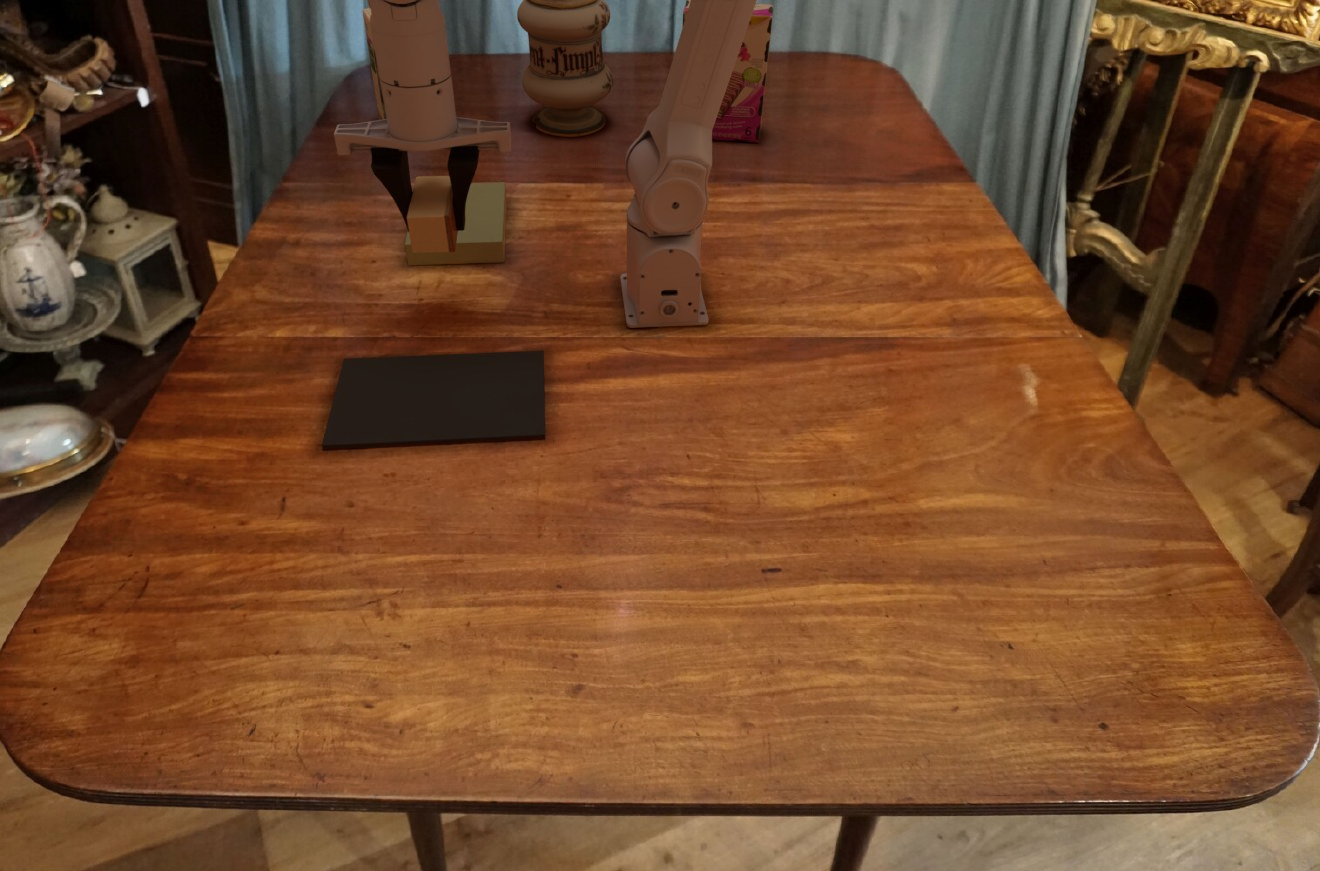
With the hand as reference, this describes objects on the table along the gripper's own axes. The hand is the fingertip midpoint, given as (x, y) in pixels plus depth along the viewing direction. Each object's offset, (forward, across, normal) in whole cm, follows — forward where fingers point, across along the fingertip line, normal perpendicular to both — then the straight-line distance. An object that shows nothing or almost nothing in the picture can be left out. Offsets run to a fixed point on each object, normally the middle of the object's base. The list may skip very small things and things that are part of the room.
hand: (437, 226), depth 85 cm
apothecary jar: (+10, -13, -47) cm, 50 cm away
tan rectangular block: (0, 0, 0) cm, 1 cm away
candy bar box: (+10, -33, -42) cm, 54 cm away
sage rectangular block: (+10, 0, -17) cm, 19 cm away
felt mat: (+10, 0, +13) cm, 16 cm away
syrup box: (+10, +9, -47) cm, 49 cm away
